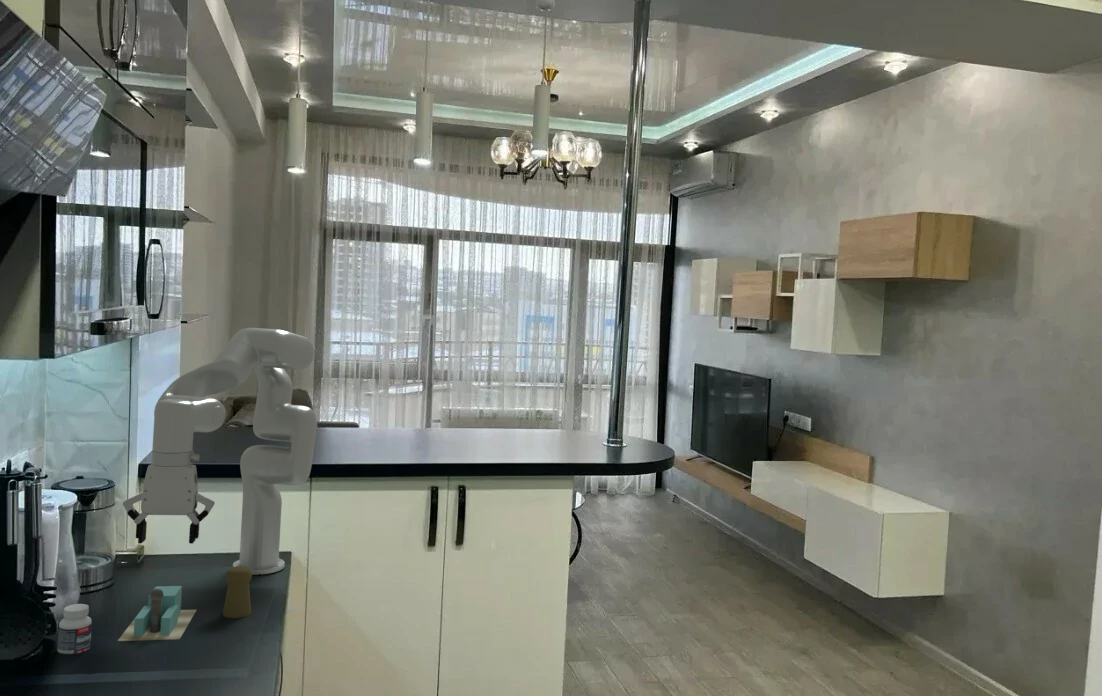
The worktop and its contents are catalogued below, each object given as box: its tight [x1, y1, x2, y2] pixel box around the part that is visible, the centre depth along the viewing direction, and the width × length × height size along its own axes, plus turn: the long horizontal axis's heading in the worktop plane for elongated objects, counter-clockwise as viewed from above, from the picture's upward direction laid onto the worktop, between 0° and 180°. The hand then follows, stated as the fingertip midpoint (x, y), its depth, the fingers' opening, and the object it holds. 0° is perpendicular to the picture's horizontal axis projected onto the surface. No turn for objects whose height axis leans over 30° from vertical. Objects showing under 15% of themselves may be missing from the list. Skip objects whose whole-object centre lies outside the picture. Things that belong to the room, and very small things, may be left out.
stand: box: [117, 588, 197, 642], centre depth 160 cm, size 16×11×10 cm
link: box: [133, 585, 183, 636], centre depth 161 cm, size 13×6×6 cm, turn 13°
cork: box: [222, 566, 253, 619], centre depth 169 cm, size 6×6×11 cm
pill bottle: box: [56, 603, 93, 655], centre depth 147 cm, size 5×5×9 cm
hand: (167, 541), depth 163 cm, fingers open, 9 cm apart
